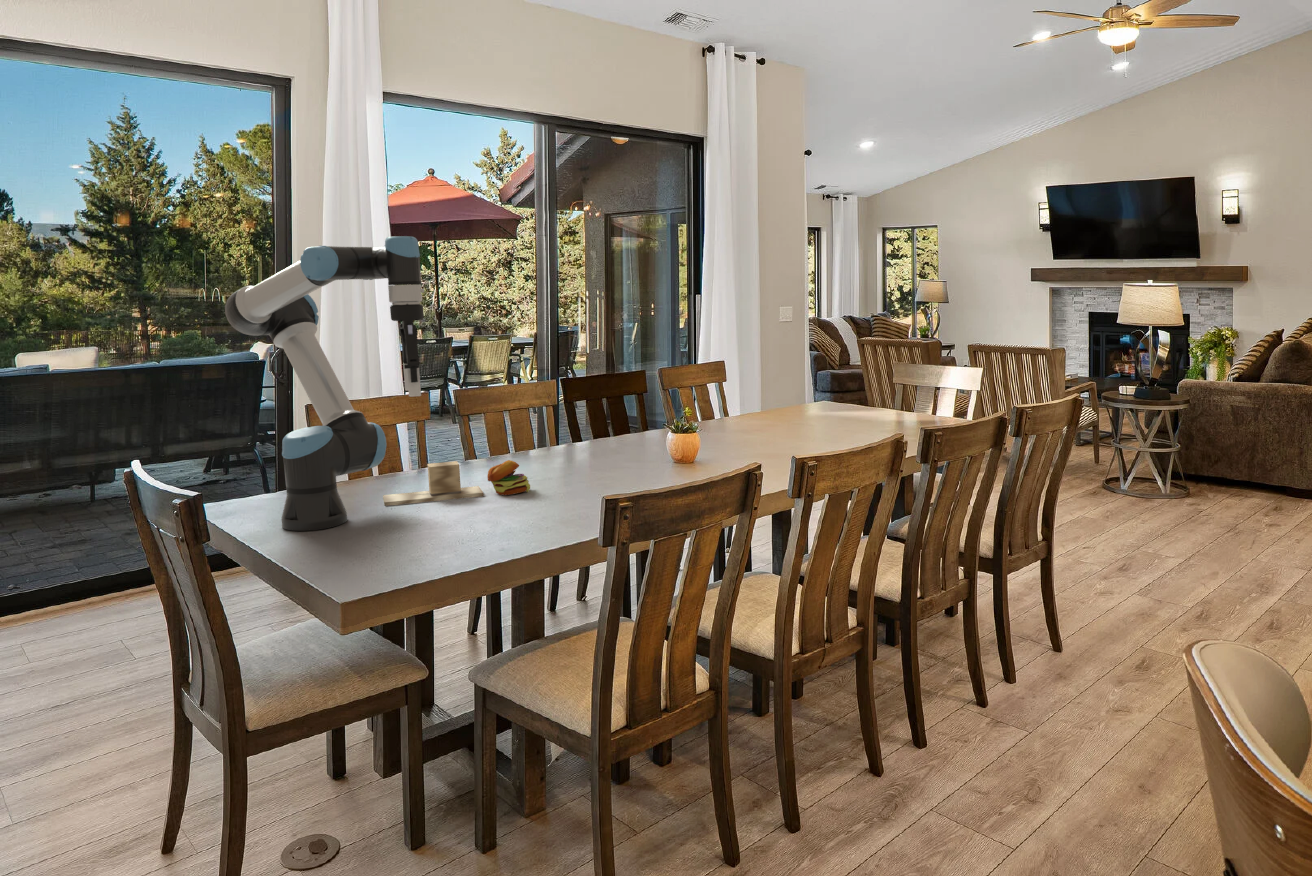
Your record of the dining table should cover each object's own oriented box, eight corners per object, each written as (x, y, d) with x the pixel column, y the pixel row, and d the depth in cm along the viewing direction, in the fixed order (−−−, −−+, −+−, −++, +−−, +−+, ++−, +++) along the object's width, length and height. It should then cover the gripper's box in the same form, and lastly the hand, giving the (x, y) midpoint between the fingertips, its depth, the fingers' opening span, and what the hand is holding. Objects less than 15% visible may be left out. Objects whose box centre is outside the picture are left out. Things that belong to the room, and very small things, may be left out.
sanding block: (431, 496, 248) (429, 467, 247) (429, 492, 253) (427, 463, 252) (461, 493, 251) (459, 464, 250) (458, 489, 256) (457, 461, 254)
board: (384, 506, 243) (384, 502, 243) (383, 498, 251) (383, 495, 251) (483, 496, 251) (483, 492, 251) (479, 489, 259) (478, 485, 259)
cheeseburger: (528, 495, 250) (517, 460, 248) (491, 505, 251) (480, 471, 249) (534, 486, 260) (523, 453, 258) (498, 496, 261) (487, 463, 259)
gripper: (427, 303, 206) (433, 397, 209) (418, 302, 229) (424, 387, 233) (392, 304, 204) (399, 400, 207) (387, 303, 227) (393, 388, 231)
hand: (412, 393), depth 220 cm, fingers open, 13 cm apart
